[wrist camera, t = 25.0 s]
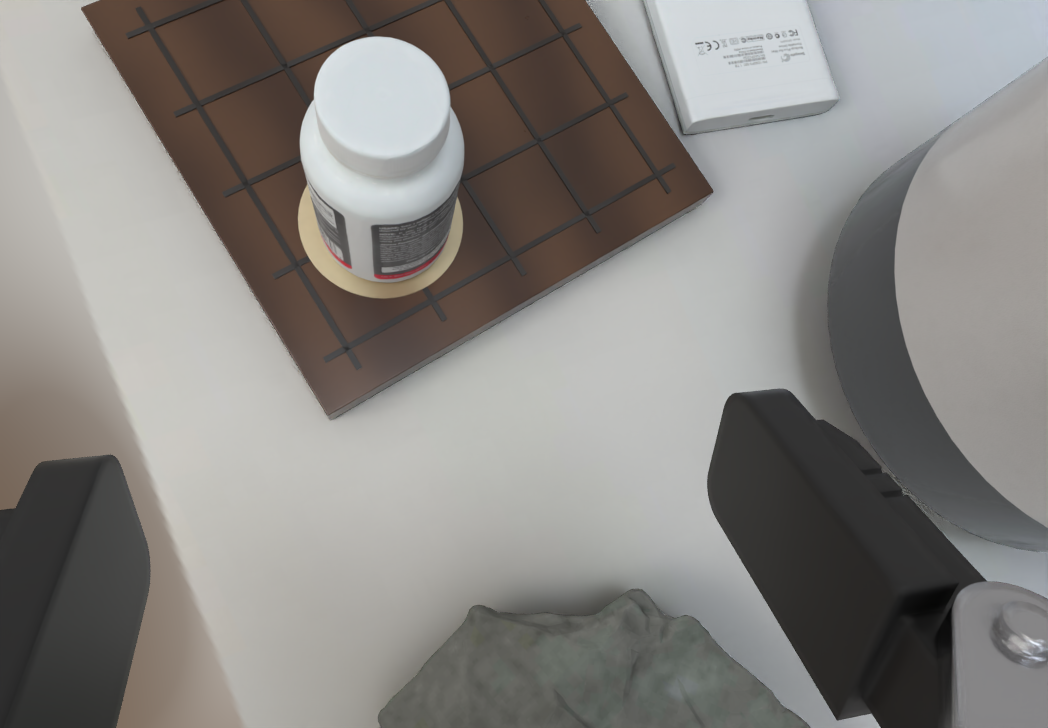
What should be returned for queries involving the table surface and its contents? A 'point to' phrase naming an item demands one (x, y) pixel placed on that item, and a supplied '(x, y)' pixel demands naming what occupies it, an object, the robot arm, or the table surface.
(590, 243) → the board
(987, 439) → the planter
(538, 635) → the stone
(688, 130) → the hard drive
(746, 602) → the table surface
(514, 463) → the table surface
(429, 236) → the pill bottle
